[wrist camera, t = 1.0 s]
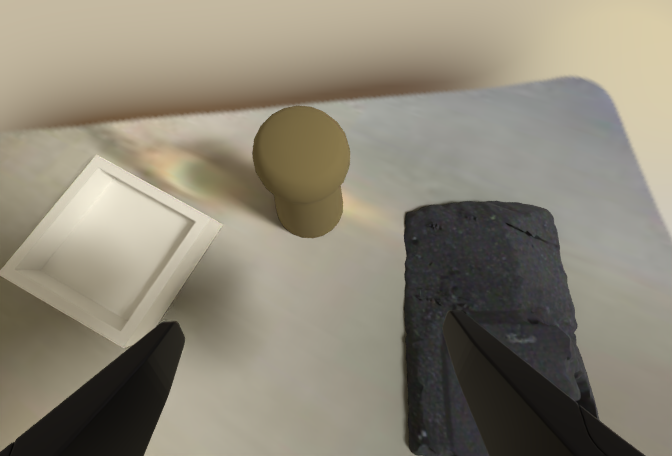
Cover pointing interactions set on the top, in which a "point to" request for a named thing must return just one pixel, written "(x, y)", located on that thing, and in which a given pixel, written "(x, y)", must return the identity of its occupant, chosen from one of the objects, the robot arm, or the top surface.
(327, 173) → the olive brown pawn
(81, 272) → the tray
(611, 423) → the top surface
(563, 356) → the dark slate chunk
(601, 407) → the top surface
